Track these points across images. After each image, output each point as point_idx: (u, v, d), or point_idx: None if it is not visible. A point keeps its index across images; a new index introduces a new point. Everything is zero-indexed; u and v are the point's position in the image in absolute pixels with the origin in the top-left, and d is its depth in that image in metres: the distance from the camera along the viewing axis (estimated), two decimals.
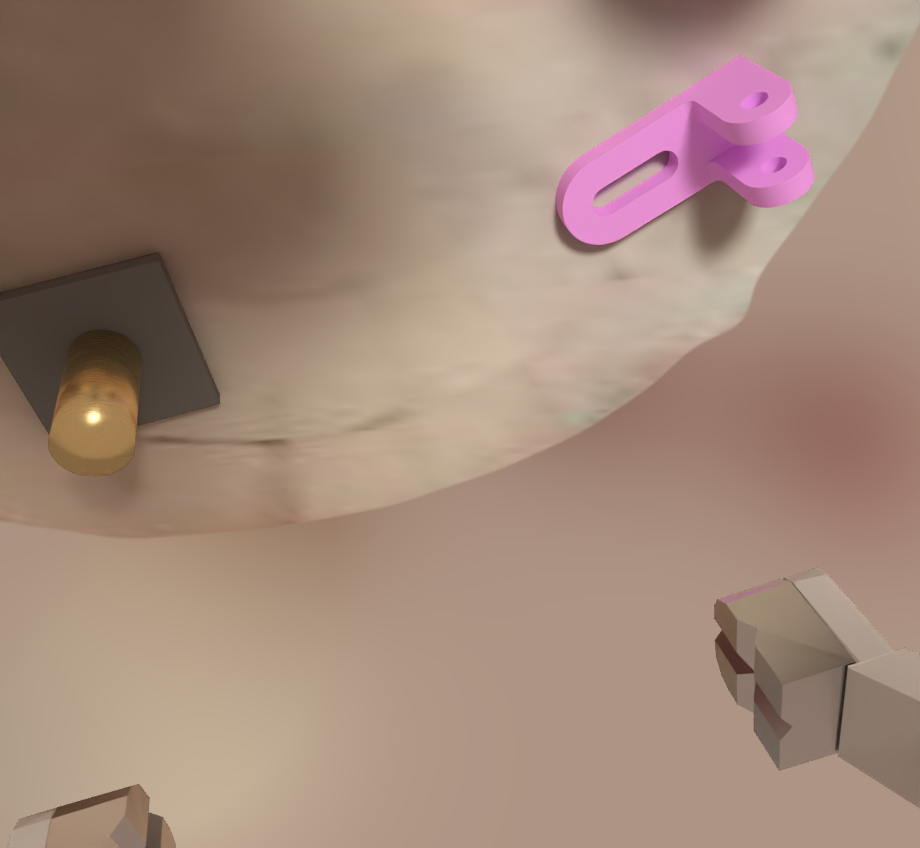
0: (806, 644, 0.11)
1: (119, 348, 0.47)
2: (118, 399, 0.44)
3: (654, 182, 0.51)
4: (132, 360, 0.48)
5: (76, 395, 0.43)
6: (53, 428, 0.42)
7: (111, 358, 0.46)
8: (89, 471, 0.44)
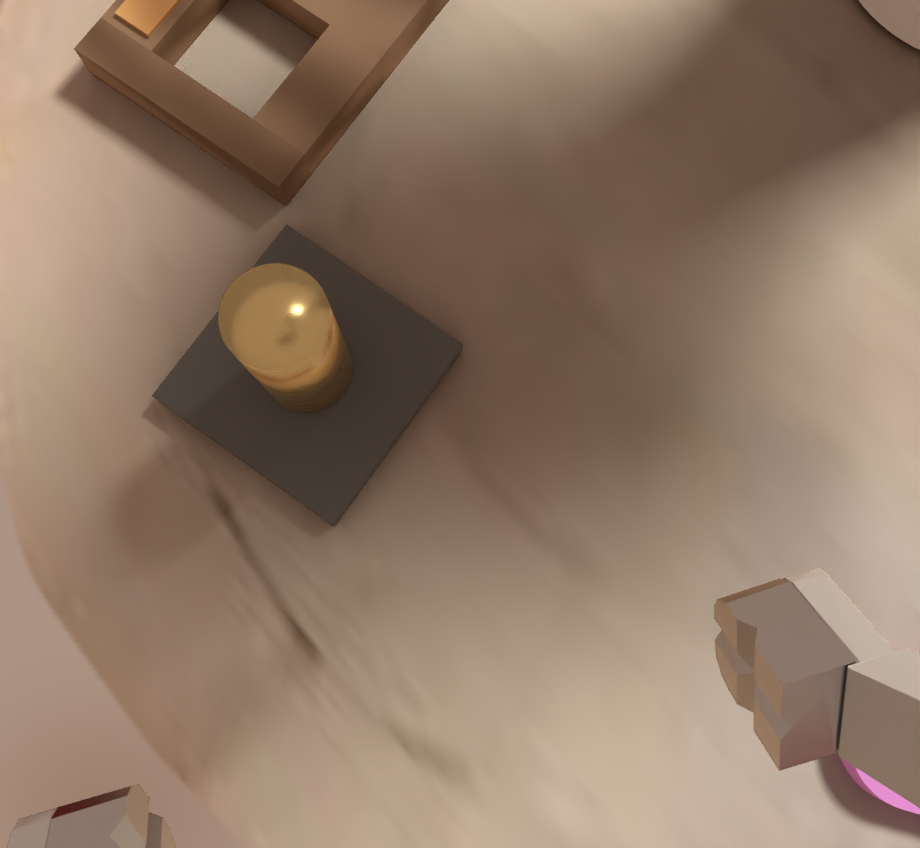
0: (806, 644, 0.11)
1: (348, 356, 0.37)
2: (335, 331, 0.33)
3: None
4: (345, 375, 0.37)
5: None
6: (272, 264, 0.31)
7: (344, 341, 0.36)
8: (231, 336, 0.31)
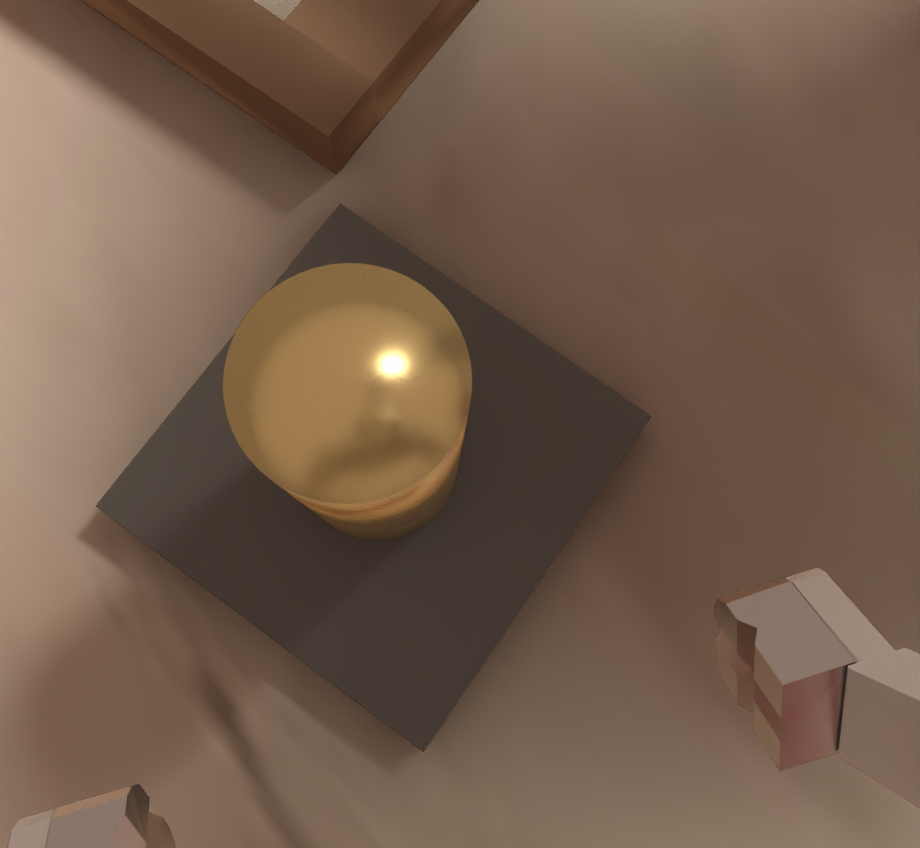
0: (806, 644, 0.11)
1: None
2: None
3: None
4: (455, 477, 0.20)
5: None
6: (344, 265, 0.14)
7: None
8: (252, 425, 0.14)
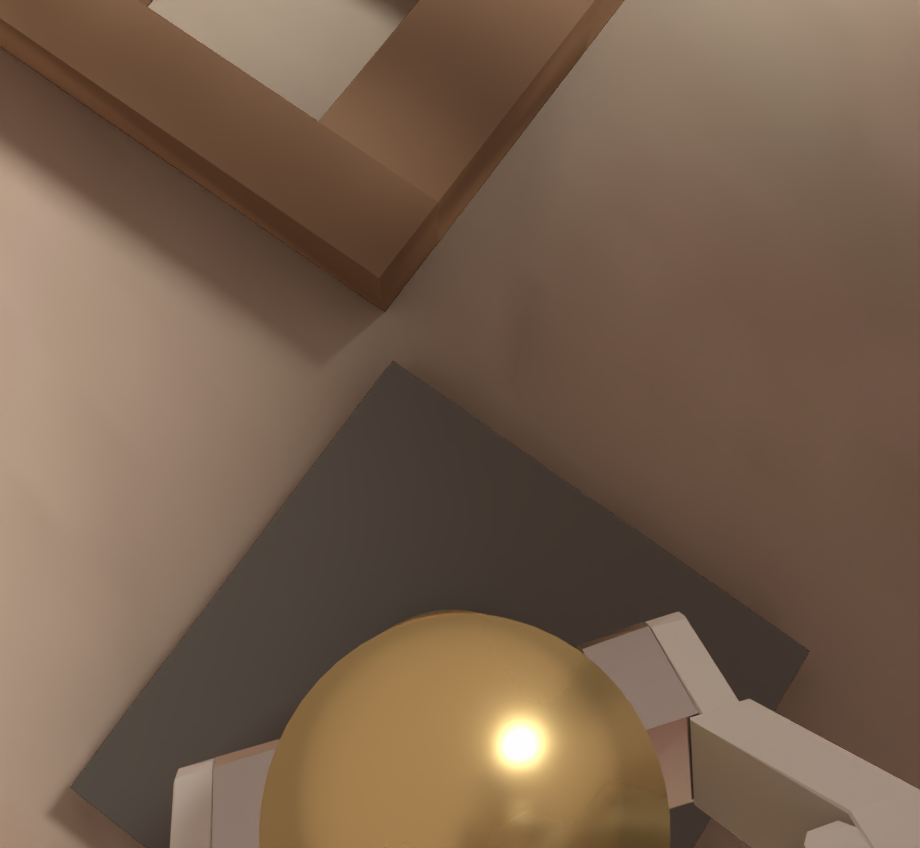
0: (653, 693, 0.10)
1: None
2: None
3: None
4: None
5: None
6: (453, 616, 0.09)
7: None
8: None
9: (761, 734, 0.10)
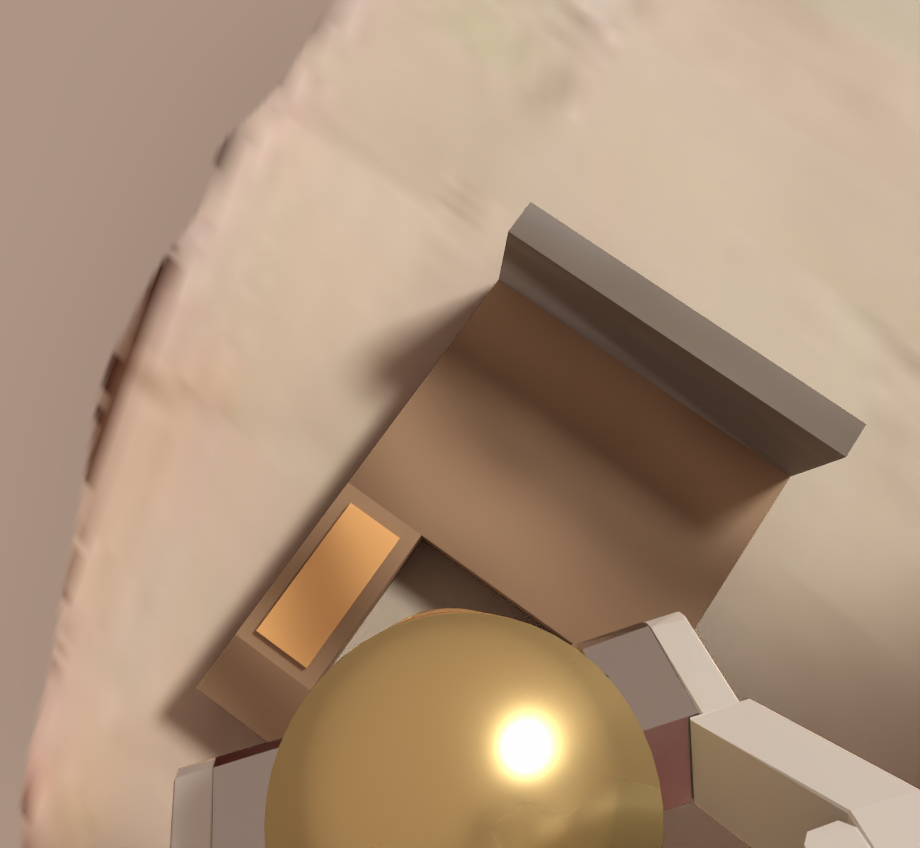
0: (653, 694, 0.10)
1: None
2: None
3: None
4: None
5: None
6: (453, 614, 0.09)
7: None
8: None
9: (761, 734, 0.10)
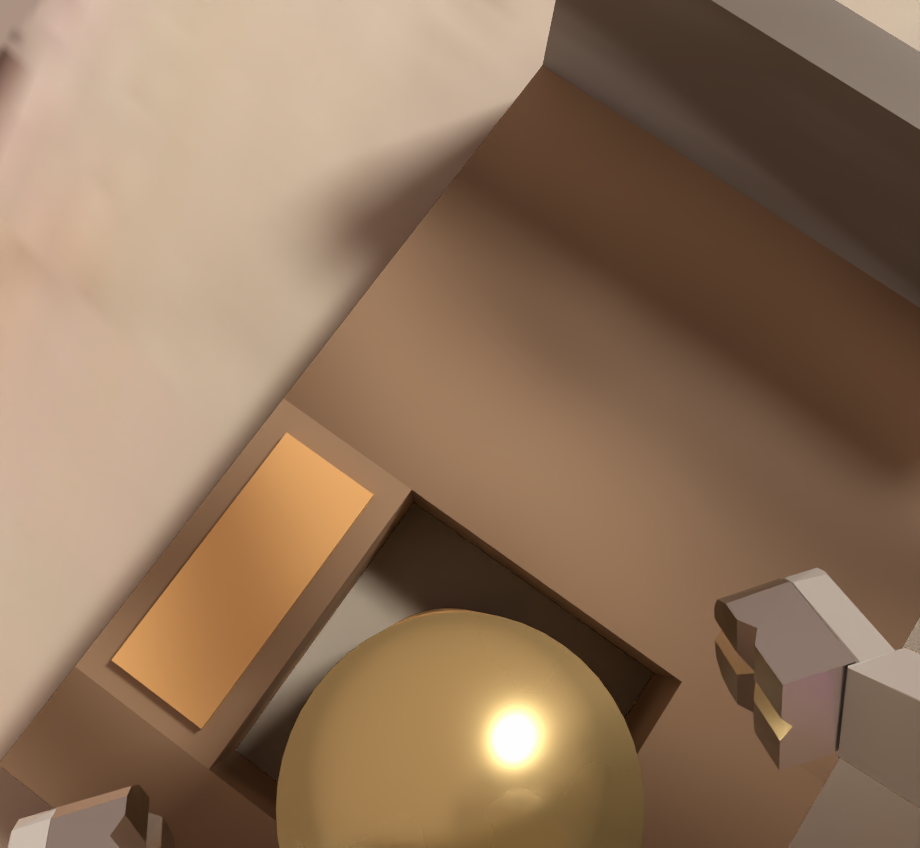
0: (806, 644, 0.11)
1: None
2: None
3: None
4: None
5: None
6: (450, 614, 0.10)
7: None
8: None
9: None
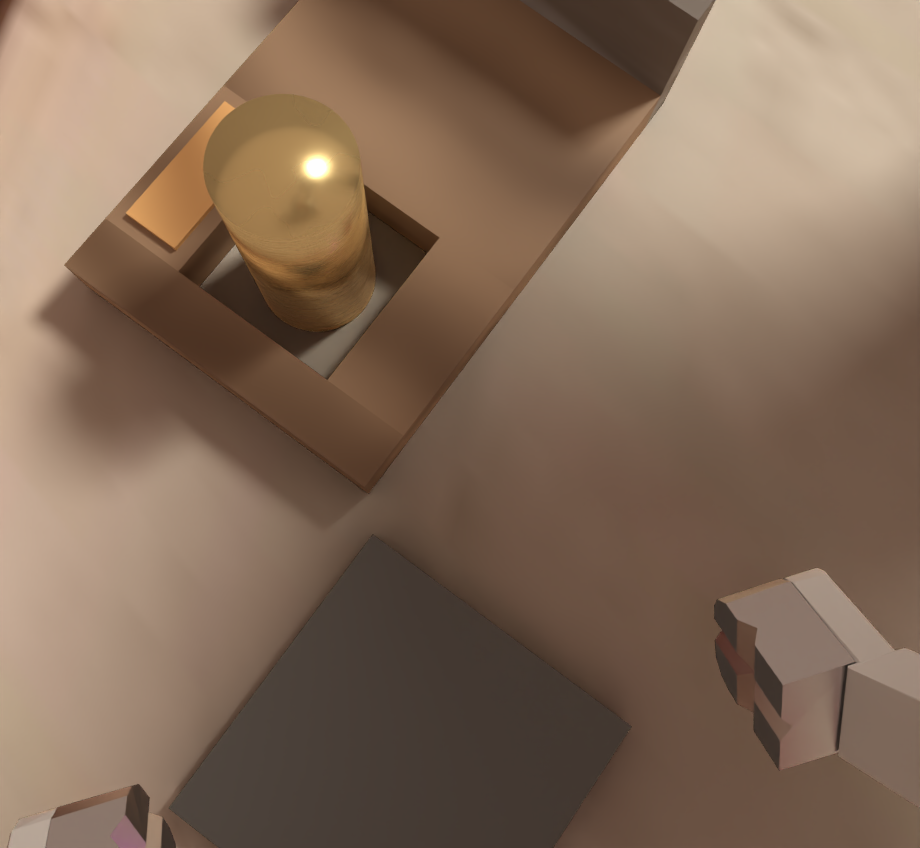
0: (806, 644, 0.11)
1: None
2: (364, 200, 0.24)
3: None
4: (368, 278, 0.28)
5: None
6: (281, 95, 0.22)
7: None
8: (221, 190, 0.22)
9: None
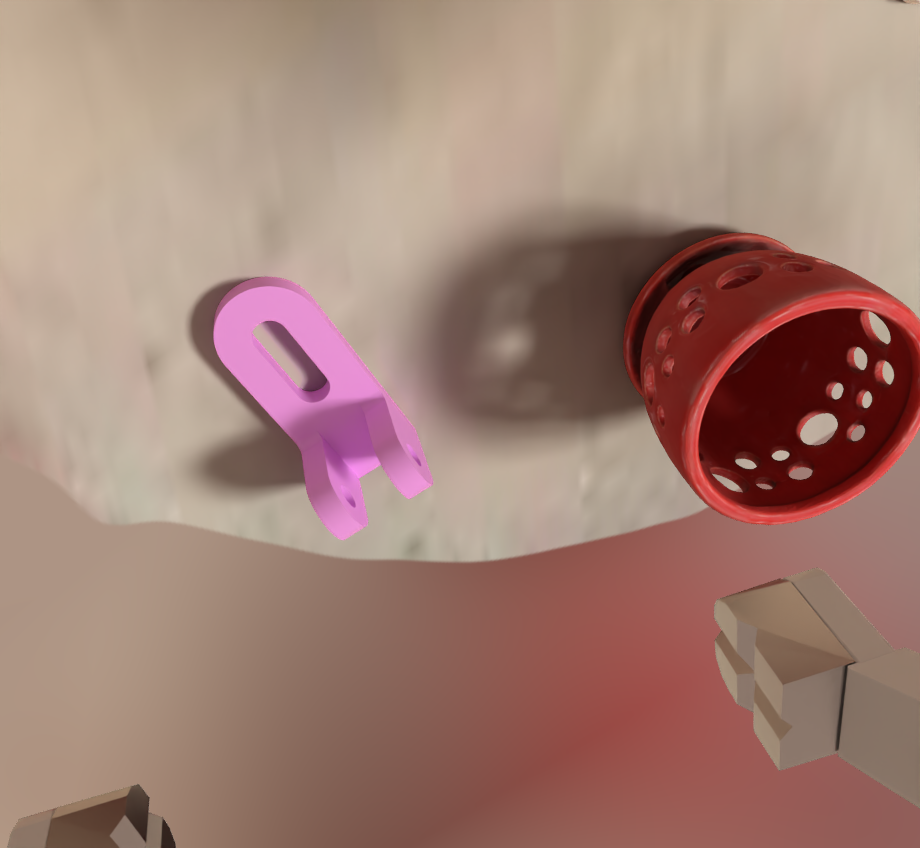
0: (806, 644, 0.11)
1: None
2: None
3: (289, 383, 0.46)
4: None
5: None
6: None
7: None
8: None
9: None
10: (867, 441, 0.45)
